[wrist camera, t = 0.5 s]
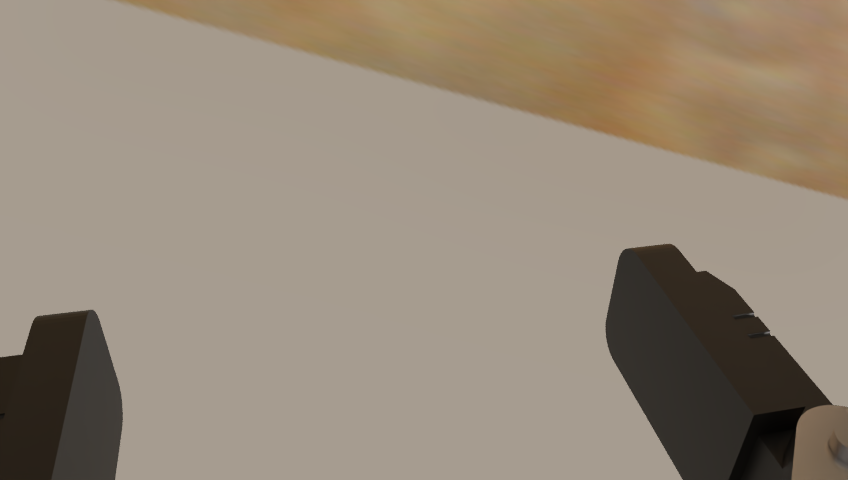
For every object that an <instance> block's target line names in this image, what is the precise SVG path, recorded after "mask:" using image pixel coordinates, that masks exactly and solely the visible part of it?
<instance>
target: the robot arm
mask: <svg viewBox="0 0 848 480" xmlns="http://www.w3.org/2000/svg"><path fill="white" fill-rule="evenodd" d="M606 338H607V343H608V347H609V351H610V353H611V356H612V358H613V360H614V362H615V363H616V365H617V367H618V369H619V370H620V372H621V374H622V375H623V377H624V379H625V381H626V382H627V384H628V386H629V388H630V389H631V391H632V393H633V394H634V396H635V398H636V400H637V401H638V403H639V405H640V406H641V408H642V410H643V412H644V413H645V415H646V416H647V419H648V420H649V422H650V424H651V425H652V427H653V429H654V431H655V432H656V434H657V436H658V438H659V439H660V441H661V443H662V445H663V446H664V448H665V450H666V451H667V453H668V455H669V456H670V458H671V460H672V462H673V463H674V465H675V467H676V469H677V470H678V472H679V474H680V476H681V477H682V479H683V480H848V407H845V406H837V405H832V403H831V402H830V401H829V400H828V399H827V398H826V396H825V395H824V394H823V393H822V392H821V390H820V389H819V388H818V387H817V386H816V385H815V383H814V382H813V381H812V380H811V379H810V378H809V376H808V375H807V374H806V373H805V372H804V371H803V369H802V368H801V367H800V366H799V365H798V363H797V362H796V361H795V360H794V359H793V358H792V356H791V355H790V354H789V353H788V352H787V350H786V349H785V348H784V347H783V346H782V345H781V343H780V342H779V341H778V340H777V339H776V338H775V336H771V335H770V330H769V329H768V328H767V327H766V326H765V325H764V323H763V322H762V321H761V320H760V319H759V318H758V317H755V316H754V312H753V310H752V309H751V308H750V307H749V306H748V305H747V304H746V302H745V301H744V300H743V299H742V297H741V296H740V295H739V294H738V293H737V292H736V290H735V289H733V288H732V287H730V286H728V285H727V284H725V283H724V282H722V281H721V280H719V279H718V278H716V277H715V276H713V275H712V274H710V273H708V272H707V271H701V272H696V271H695V269H694V268H693V267H692V266H691V264H690V263H689V262H688V261H687V260H686V258H685V257H684V256H683V255H682V253H681V252H680V251H679V250H678V249H677V248H676V247H675V246H674V245H672V244H663V245H655V246H646V247H637V248H629V249H625V250H624V251H623V252H622V253H621V255H620V257H619V260H618V265H617V270H616V275H615V279H614V284H613V289H612V294H611V299H610V304H609V309H608V313H607V319H606ZM122 415H123V412H122V399H121V392H120V387H119V383H118V380H117V377H116V373H115V370H114V367H113V363H112V360H111V357H110V354H109V350H108V347H107V344H106V341H105V337H104V334H103V331H102V327H101V324H100V321H99V318H98V316H97V314H96V312H95V311H93V310H86V311H78V312H69V313H61V314H52V315H43V316H37V317H36V318H35V319H34V321H33V323H32V326H31V329H30V333H29V336H28V339H27V342H26V346H25V349H24V352H23V355H16V356H8V357H0V480H115V474H116V468H117V461H118V453H119V446H120V439H121V431H122V420H123V417H122Z"/></svg>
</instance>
